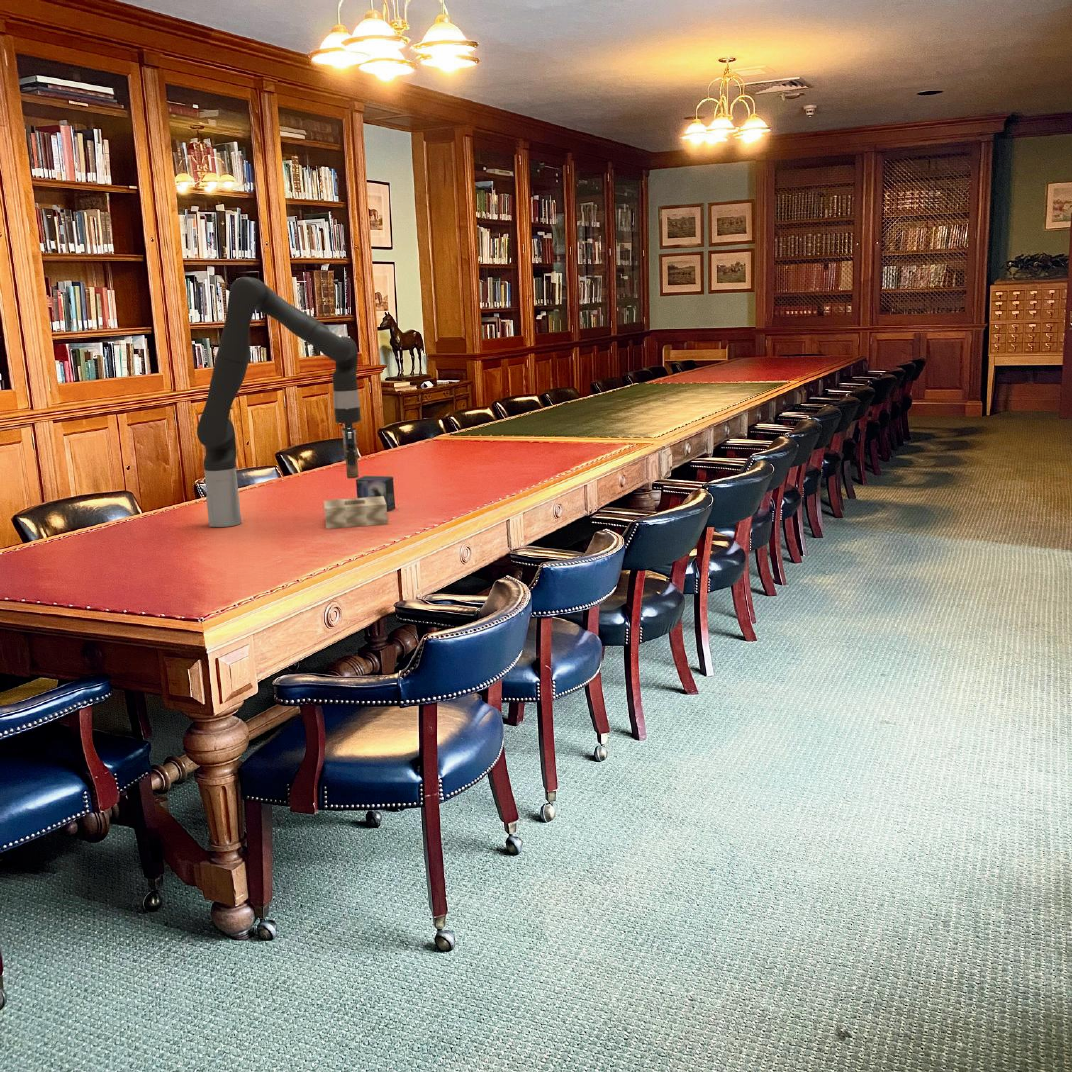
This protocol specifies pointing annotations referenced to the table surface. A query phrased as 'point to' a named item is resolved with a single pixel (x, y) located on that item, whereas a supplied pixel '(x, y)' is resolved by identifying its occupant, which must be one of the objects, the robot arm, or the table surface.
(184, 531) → the table surface
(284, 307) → the robot arm
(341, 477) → the table surface
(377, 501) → the seat board
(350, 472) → the peg
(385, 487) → the small box
